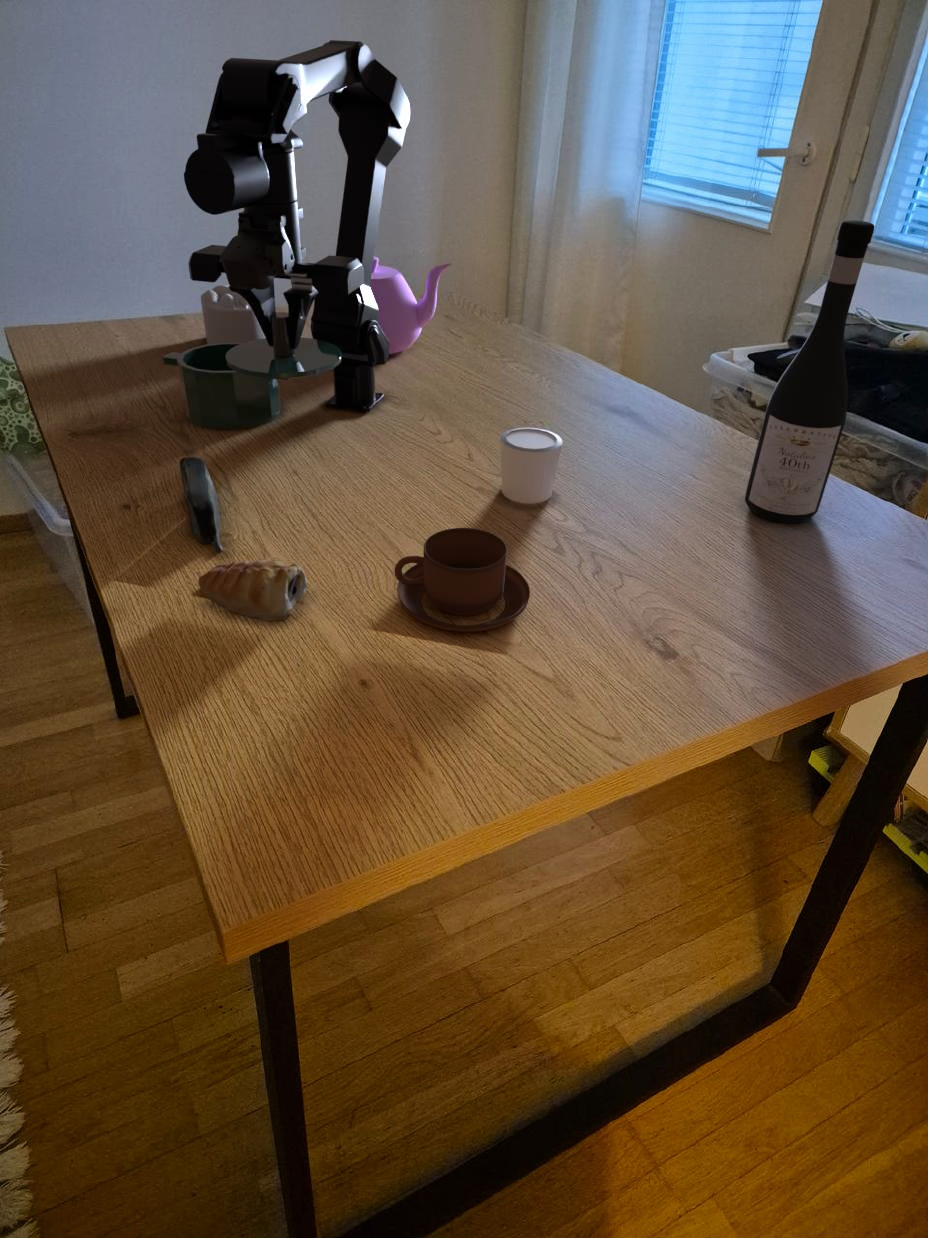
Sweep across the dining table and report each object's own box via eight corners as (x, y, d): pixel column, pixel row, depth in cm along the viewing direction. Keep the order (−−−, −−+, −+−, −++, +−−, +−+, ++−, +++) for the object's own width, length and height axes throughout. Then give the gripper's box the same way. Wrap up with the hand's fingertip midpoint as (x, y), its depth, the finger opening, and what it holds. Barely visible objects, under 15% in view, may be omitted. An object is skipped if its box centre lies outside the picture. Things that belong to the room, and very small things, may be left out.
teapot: (447, 370, 132) (449, 276, 124) (307, 364, 132) (301, 270, 124) (450, 329, 150) (453, 245, 142) (328, 324, 150) (323, 240, 142)
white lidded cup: (562, 489, 98) (569, 432, 94) (548, 514, 93) (554, 455, 89) (506, 479, 100) (510, 422, 96) (488, 503, 95) (492, 444, 91)
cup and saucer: (426, 657, 71) (426, 595, 68) (379, 585, 80) (378, 527, 76) (551, 627, 75) (558, 568, 72) (494, 562, 84) (497, 507, 81)
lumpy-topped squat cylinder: (266, 331, 145) (260, 278, 140) (279, 354, 135) (274, 298, 130) (203, 335, 142) (196, 281, 137) (213, 359, 132) (205, 302, 127)
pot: (198, 389, 121) (190, 336, 117) (313, 404, 118) (309, 350, 114) (150, 419, 111) (139, 363, 107) (274, 437, 108) (268, 379, 104)
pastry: (187, 610, 75) (181, 574, 73) (221, 573, 81) (216, 538, 79) (286, 626, 74) (282, 589, 72) (314, 587, 79) (311, 551, 77)
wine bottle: (814, 532, 92) (906, 233, 75) (739, 518, 94) (812, 224, 77) (816, 501, 98) (901, 219, 81) (746, 489, 100) (814, 211, 83)
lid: (257, 341, 107) (252, 294, 103) (358, 352, 104) (356, 305, 101) (205, 375, 96) (198, 324, 93) (316, 389, 93) (312, 337, 90)
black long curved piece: (174, 454, 91) (191, 512, 80) (202, 451, 92) (223, 508, 81) (181, 496, 94) (199, 558, 82) (209, 492, 95) (230, 553, 83)
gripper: (150, 205, 85) (175, 359, 94) (324, 219, 82) (333, 378, 91) (204, 189, 94) (222, 331, 103) (362, 201, 91) (368, 347, 100)
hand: (283, 346), depth 99 cm, fingers closed on lid, 2 cm apart
